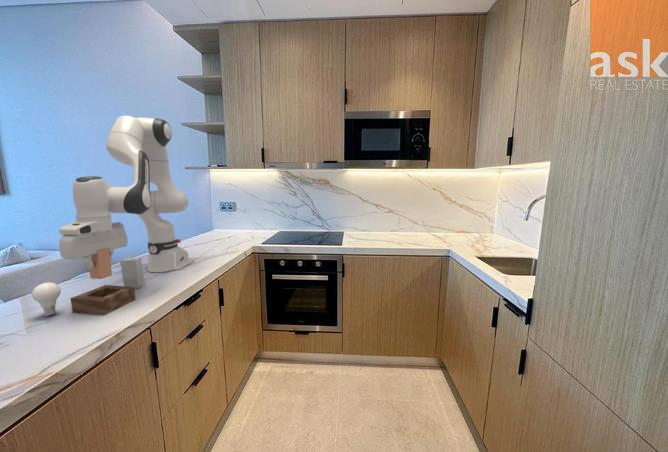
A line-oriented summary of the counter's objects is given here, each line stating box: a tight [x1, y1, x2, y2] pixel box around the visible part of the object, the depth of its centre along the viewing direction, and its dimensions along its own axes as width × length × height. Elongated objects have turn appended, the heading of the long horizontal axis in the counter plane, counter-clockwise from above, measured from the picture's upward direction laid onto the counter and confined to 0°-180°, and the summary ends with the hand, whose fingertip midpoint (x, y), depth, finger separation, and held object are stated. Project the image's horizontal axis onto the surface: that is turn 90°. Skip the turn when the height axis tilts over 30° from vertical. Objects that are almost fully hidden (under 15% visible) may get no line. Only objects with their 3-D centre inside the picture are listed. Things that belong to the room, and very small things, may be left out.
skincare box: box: [119, 257, 146, 289], centre depth 112 cm, size 6×4×12 cm
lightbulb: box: [31, 281, 62, 317], centre depth 87 cm, size 6×6×11 cm
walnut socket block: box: [70, 284, 136, 316], centre depth 95 cm, size 12×12×5 cm
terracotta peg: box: [88, 247, 113, 280], centre depth 93 cm, size 4×4×10 cm
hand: (100, 265), depth 93 cm, fingers closed on terracotta peg, 4 cm apart
